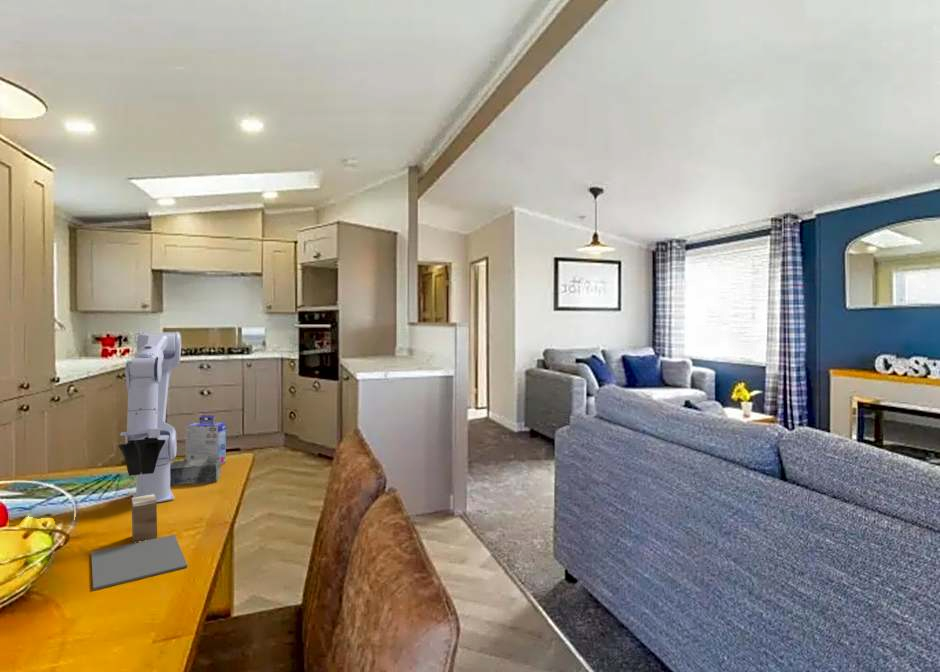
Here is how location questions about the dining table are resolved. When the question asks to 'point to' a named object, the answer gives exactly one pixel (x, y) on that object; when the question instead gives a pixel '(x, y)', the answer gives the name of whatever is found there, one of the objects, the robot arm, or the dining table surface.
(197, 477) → the stone block
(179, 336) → the robot arm
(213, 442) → the ink cartridge box
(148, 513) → the walnut block
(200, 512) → the dining table surface
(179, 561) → the mat
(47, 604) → the dining table surface
